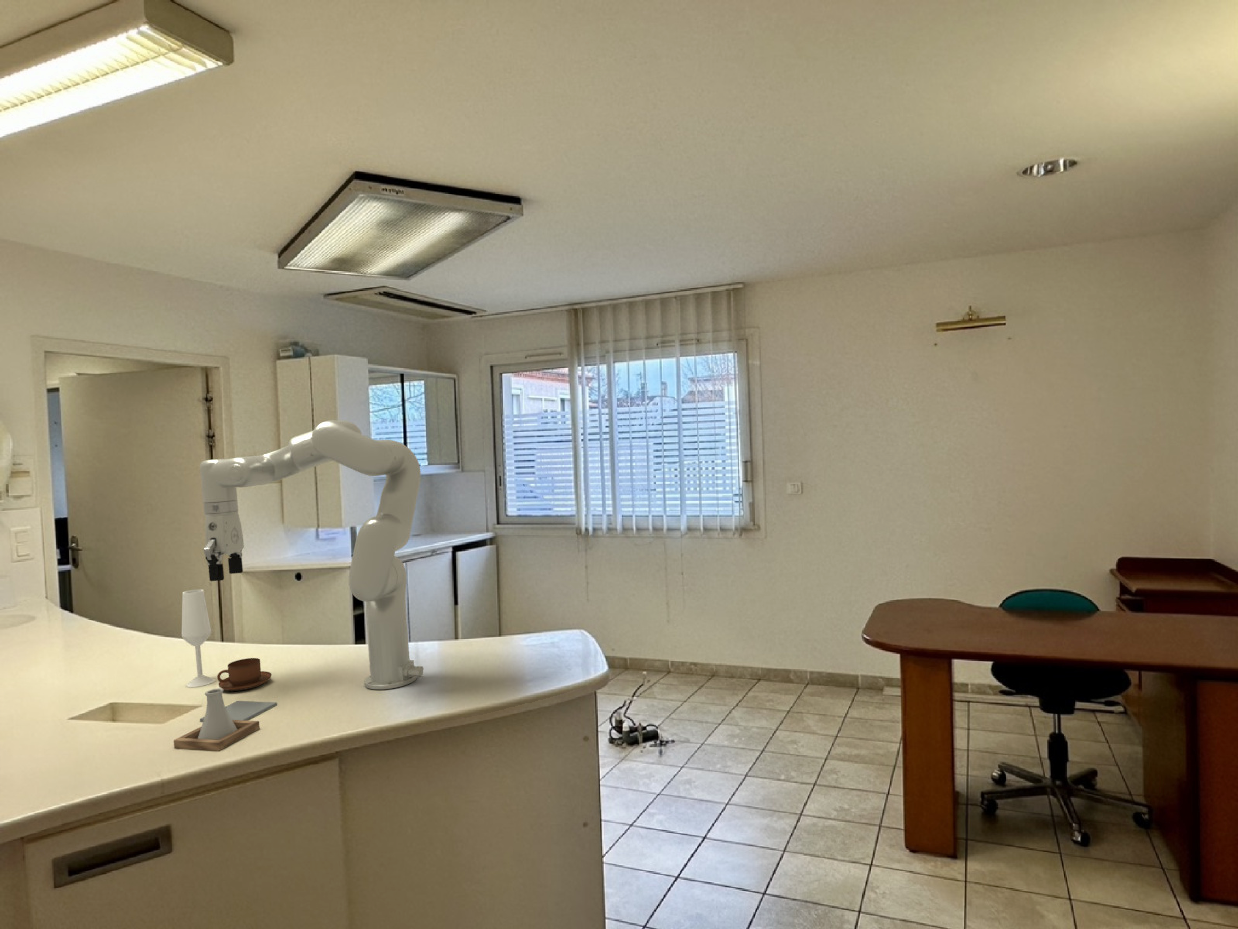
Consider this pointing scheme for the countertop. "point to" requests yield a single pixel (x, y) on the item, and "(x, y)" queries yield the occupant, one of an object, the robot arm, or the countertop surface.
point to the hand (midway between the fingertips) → (226, 576)
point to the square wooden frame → (193, 742)
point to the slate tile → (246, 709)
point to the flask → (216, 717)
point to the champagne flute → (196, 629)
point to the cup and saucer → (243, 675)
